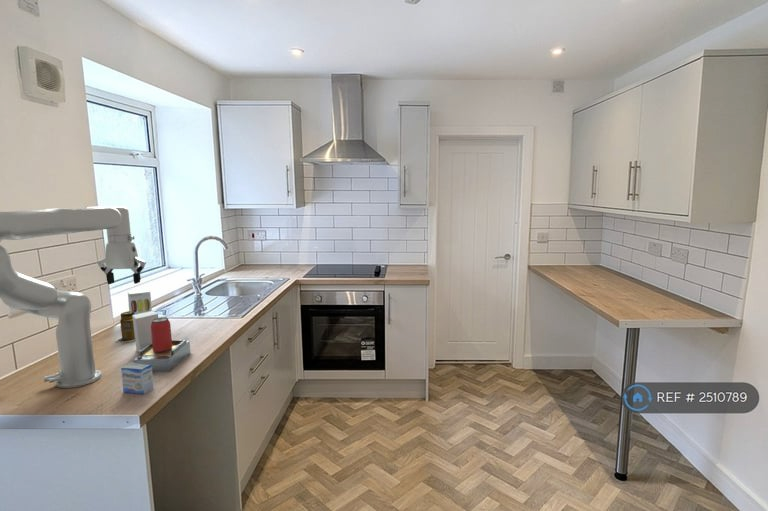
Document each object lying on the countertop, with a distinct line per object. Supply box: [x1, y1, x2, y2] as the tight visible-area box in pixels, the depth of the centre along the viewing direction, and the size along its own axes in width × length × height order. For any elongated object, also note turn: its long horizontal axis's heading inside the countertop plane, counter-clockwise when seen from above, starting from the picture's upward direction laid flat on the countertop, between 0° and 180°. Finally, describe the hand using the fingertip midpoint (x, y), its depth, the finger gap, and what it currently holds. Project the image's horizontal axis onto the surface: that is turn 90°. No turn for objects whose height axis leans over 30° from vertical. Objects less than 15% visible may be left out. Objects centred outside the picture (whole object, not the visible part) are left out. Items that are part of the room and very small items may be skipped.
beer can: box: [151, 316, 173, 352], centre depth 153 cm, size 7×7×12 cm
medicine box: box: [120, 362, 154, 395], centre depth 132 cm, size 8×4×9 cm, turn 80°
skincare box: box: [132, 310, 159, 353], centre depth 166 cm, size 8×7×16 cm
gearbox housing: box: [133, 339, 191, 373], centre depth 155 cm, size 18×12×7 cm
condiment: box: [114, 310, 135, 343], centre depth 179 cm, size 7×8×12 cm
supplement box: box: [127, 288, 153, 315], centre depth 201 cm, size 10×9×17 cm
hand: (124, 283), depth 155 cm, fingers open, 9 cm apart
